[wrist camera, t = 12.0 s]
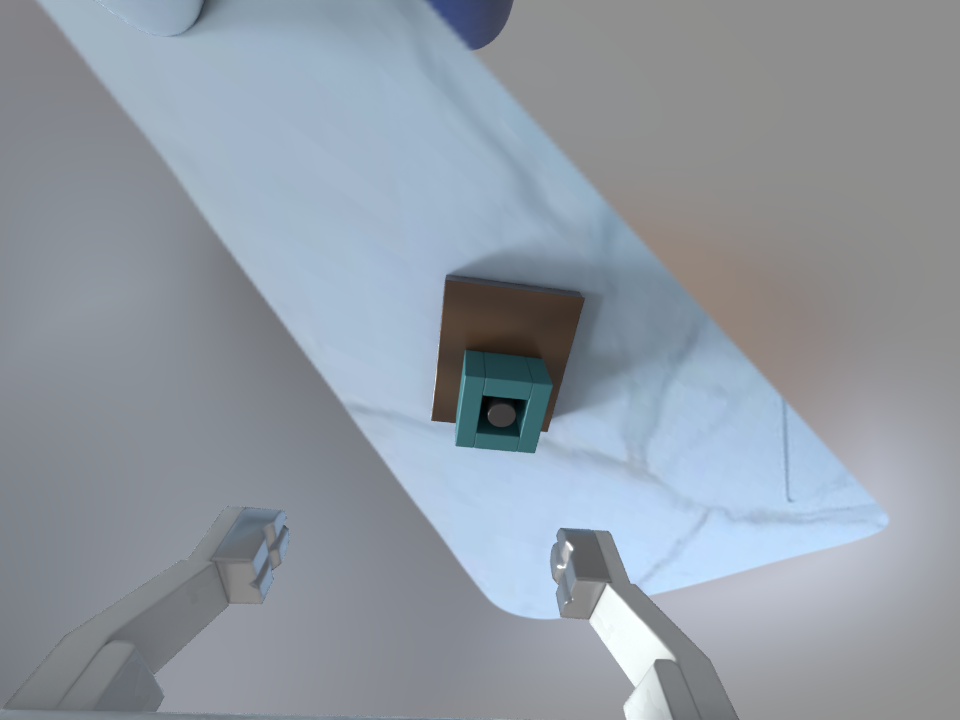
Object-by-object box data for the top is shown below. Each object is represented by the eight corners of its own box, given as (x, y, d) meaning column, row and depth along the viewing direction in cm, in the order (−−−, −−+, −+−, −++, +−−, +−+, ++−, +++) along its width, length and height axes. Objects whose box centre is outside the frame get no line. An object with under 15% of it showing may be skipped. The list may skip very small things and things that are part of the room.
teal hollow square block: (465, 349, 28) (464, 375, 24) (542, 358, 28) (553, 385, 25) (456, 414, 30) (454, 446, 27) (527, 421, 31) (534, 453, 27)
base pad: (446, 274, 27) (441, 297, 22) (579, 292, 28) (603, 317, 23) (432, 410, 32) (426, 453, 27) (544, 421, 33) (557, 465, 28)
